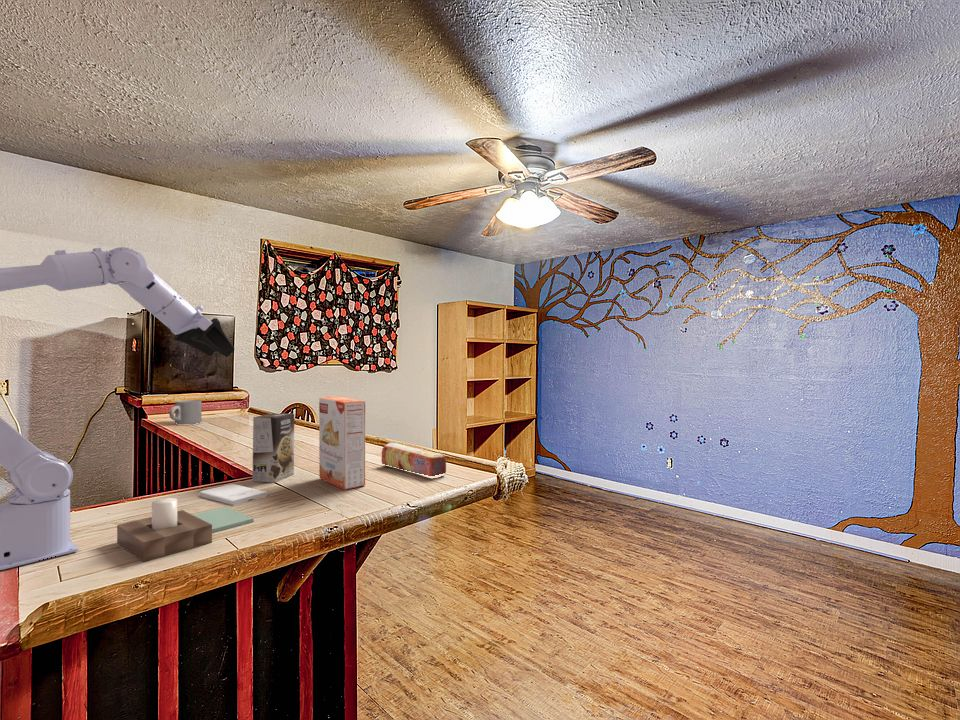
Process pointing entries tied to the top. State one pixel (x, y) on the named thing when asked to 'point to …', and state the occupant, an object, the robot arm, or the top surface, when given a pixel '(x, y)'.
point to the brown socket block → (163, 536)
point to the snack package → (413, 459)
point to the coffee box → (273, 447)
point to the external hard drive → (232, 494)
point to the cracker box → (342, 441)
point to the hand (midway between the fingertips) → (221, 352)
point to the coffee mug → (186, 412)
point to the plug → (164, 513)
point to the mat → (224, 518)
